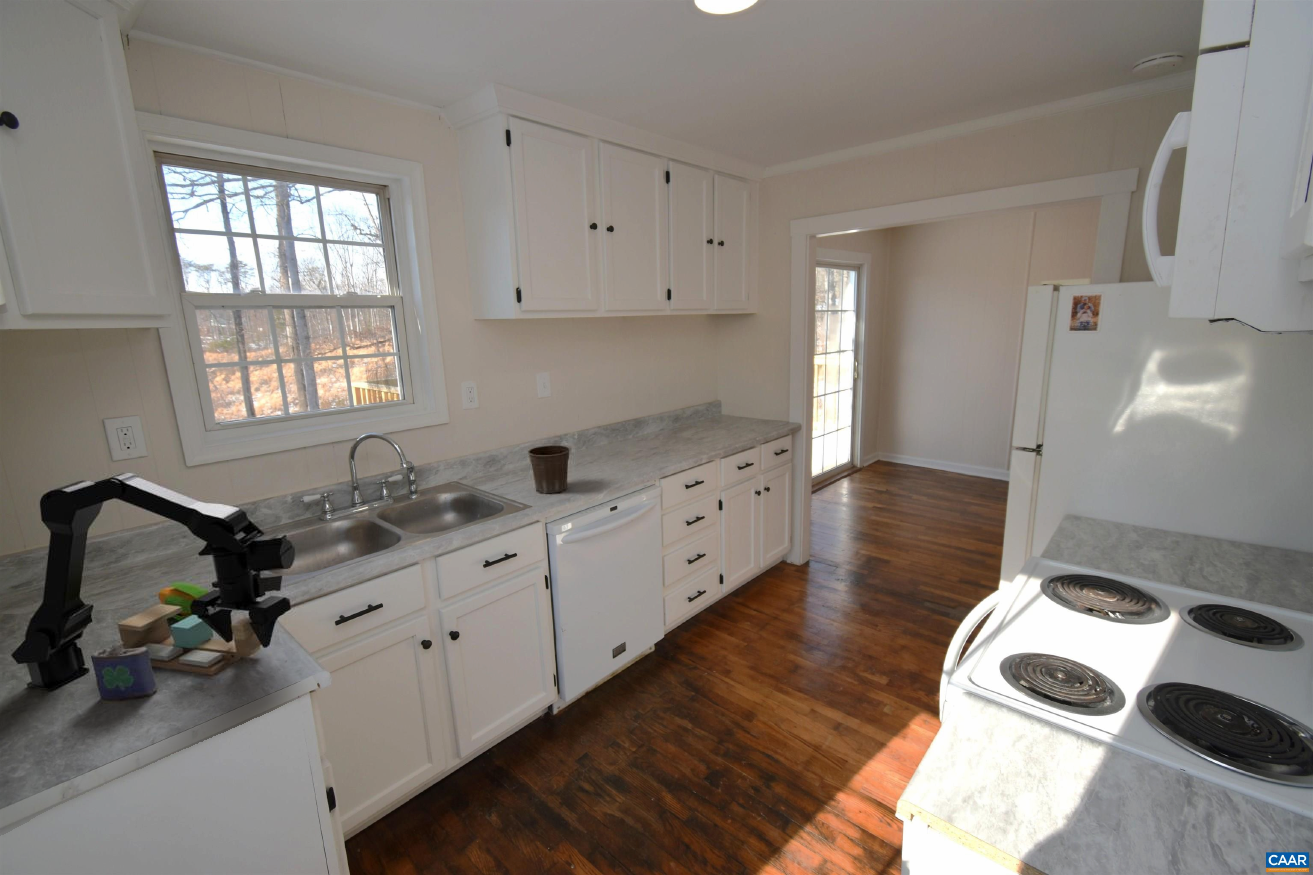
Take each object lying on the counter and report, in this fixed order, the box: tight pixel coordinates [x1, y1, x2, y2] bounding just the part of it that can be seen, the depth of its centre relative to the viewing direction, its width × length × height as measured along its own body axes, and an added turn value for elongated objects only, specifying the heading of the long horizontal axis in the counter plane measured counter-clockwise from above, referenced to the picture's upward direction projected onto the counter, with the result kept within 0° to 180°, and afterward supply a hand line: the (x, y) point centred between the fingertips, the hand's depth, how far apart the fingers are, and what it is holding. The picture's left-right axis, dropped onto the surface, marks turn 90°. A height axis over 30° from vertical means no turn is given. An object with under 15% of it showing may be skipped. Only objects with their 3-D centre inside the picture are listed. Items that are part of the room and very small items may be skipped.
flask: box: [90, 640, 158, 702], centre depth 104 cm, size 9×3×11 cm, turn 95°
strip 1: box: [140, 643, 222, 667], centre depth 115 cm, size 3×19×1 cm, turn 77°
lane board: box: [117, 603, 242, 676], centre depth 116 cm, size 8×22×9 cm, turn 77°
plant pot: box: [527, 445, 571, 495], centre depth 223 cm, size 16×16×16 cm
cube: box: [170, 615, 214, 648], centre depth 118 cm, size 4×4×4 cm
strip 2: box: [172, 616, 262, 659], centre depth 117 cm, size 3×19×7 cm, turn 77°
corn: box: [157, 582, 209, 622], centre depth 134 cm, size 7×8×20 cm
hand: (248, 644), depth 115 cm, fingers open, 9 cm apart
